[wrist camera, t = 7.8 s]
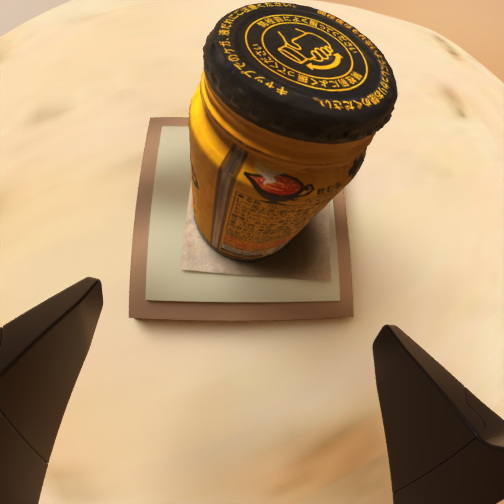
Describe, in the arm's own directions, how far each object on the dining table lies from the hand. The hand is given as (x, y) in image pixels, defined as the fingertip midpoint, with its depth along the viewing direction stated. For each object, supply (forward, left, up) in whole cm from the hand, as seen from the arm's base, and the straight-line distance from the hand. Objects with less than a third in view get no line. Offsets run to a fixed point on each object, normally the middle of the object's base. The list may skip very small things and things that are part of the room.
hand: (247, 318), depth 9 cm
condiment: (+6, -2, -8) cm, 10 cm away
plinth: (+6, -1, -9) cm, 11 cm away
